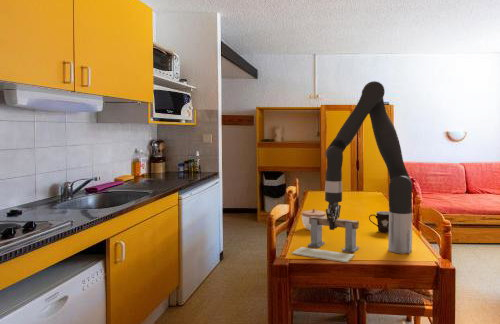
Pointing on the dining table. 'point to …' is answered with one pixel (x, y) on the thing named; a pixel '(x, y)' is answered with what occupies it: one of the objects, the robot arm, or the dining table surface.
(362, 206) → the dining table surface
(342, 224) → the walnut bar
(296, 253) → the white flat slab
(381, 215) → the coffee mug
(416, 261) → the dining table surface
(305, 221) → the lidded bowl
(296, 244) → the dining table surface
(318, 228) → the forked posts
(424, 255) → the dining table surface
